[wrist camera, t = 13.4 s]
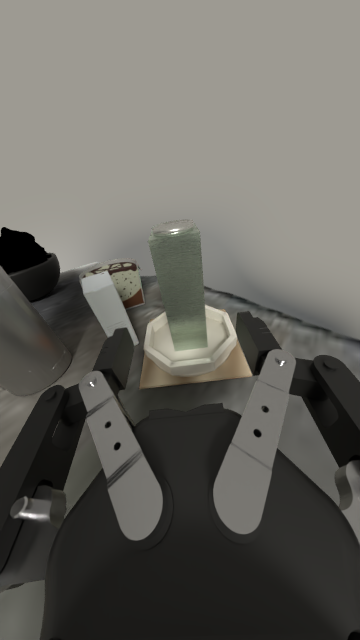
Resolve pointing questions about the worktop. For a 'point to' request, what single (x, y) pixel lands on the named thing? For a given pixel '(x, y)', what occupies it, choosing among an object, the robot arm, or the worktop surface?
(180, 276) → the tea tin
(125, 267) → the food container
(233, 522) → the robot arm
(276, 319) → the worktop surface
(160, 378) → the board
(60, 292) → the worktop surface
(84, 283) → the skincare box
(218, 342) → the bowl
